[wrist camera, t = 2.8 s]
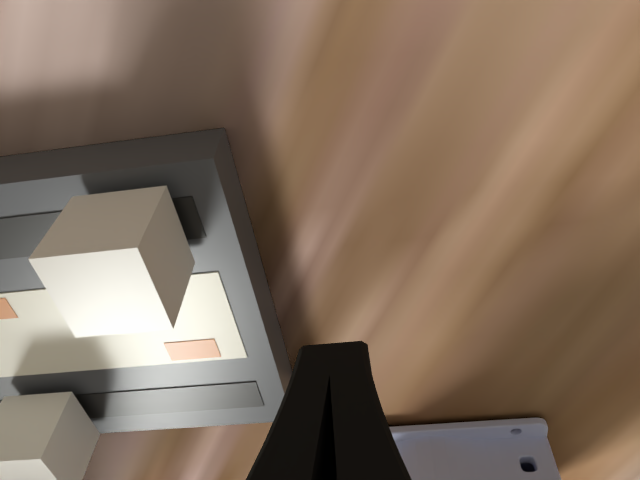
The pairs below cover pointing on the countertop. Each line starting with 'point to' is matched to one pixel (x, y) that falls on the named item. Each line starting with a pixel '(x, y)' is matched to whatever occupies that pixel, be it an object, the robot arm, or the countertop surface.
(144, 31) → the countertop surface
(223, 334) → the switch panel
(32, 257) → the tab front
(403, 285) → the countertop surface
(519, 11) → the countertop surface
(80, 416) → the tab back
